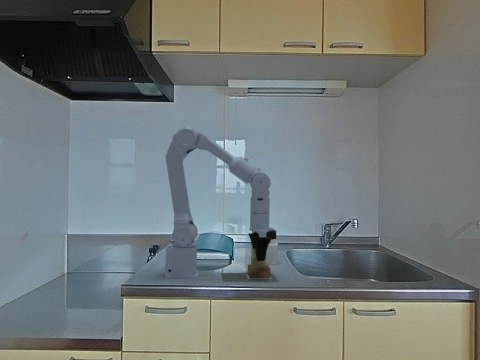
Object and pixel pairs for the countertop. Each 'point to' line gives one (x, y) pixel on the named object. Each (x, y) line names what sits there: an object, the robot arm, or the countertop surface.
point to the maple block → (257, 263)
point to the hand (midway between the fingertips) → (258, 258)
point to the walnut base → (258, 272)
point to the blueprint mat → (245, 278)
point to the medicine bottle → (272, 249)
